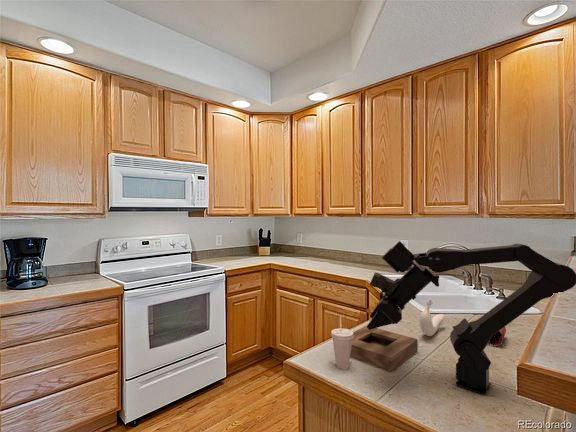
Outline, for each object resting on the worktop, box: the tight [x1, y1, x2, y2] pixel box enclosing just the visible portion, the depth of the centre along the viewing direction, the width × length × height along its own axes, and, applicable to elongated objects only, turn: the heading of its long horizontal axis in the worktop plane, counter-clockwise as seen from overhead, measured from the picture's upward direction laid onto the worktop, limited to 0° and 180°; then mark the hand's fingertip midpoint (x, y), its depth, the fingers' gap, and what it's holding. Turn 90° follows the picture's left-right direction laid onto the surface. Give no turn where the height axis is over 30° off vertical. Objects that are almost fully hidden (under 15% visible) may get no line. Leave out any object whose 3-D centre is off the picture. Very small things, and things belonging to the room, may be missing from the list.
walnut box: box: [350, 325, 419, 373], centre depth 98 cm, size 18×18×4 cm
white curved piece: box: [419, 298, 446, 337], centre depth 113 cm, size 5×19×15 cm, turn 141°
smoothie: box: [330, 315, 354, 370], centre depth 89 cm, size 6×6×14 cm
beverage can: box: [487, 326, 507, 347], centre depth 107 cm, size 7×12×7 cm, turn 139°
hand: (369, 322), depth 87 cm, fingers open, 9 cm apart
